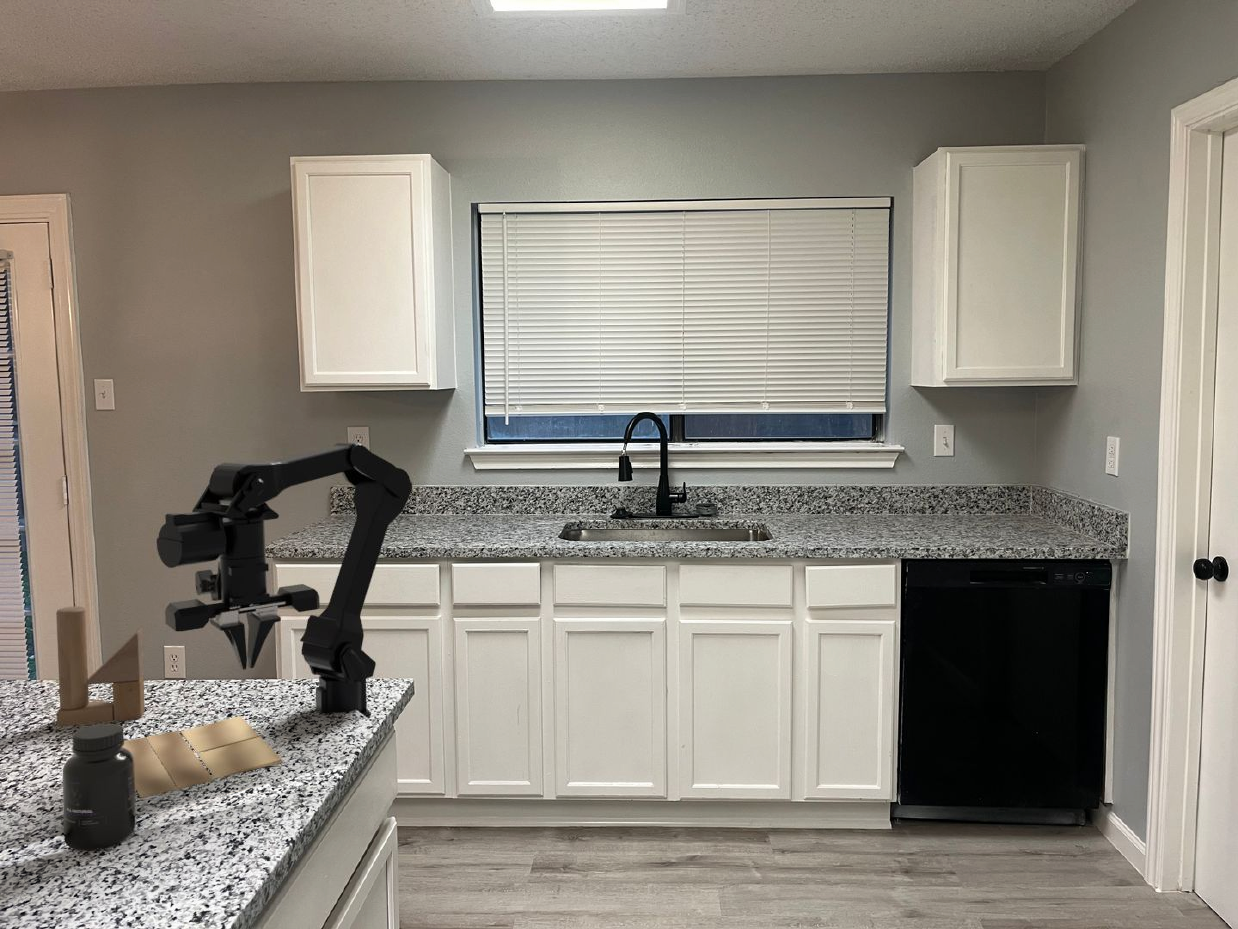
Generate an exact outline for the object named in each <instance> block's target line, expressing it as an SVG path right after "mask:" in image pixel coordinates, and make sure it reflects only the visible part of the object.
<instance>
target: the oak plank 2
mask: <svg viewBox="0 0 1238 929" xmlns="http://www.w3.org/2000/svg"><path fill="white" fill-rule="evenodd" d="M197 757H199V758H200V761H202V763H204V764H203V765H204V766H206V769H208V771H209V772H210V773H211V774H212V776H213V777H214V779H219V778H222V777H228V776H232V775H236V774H237V775H238V774H240V773H245V772H249V771H252V770H256V769H260V768H265V767H270V766H273V765H278V764H281V763H283V759H282V757H280V755H279V754H278V753H277V752H276V751H275V750H274V749H273V748H272V747H271V746H270V745H269V744H268V743H267V742H266V741H265V740H264V739H263V738H262V737H261V736H259V737H258V738H254V739H250V740H246V741H243V742H239V743H235V744H232V745H228V746H224V747H221V748H217V749H212V750H207V751H203V752H198V753H197Z"/></svg>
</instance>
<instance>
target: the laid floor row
mask: <svg viewBox="0 0 1238 929" xmlns="http://www.w3.org/2000/svg"><path fill="white" fill-rule="evenodd" d="M122 747H123V748H126V749H127V750H129V751H130V752H131V753H132V755H133V756H134V768H135V790H136V791H137V793H138V794H139V795H138V796H139V797H140V799H143V798H147V797H150V796H151V797H152V796H154V795H159V794H164V793H167V792H171V791H176V790H180V789H184V788H189V787H192V786H197V785H201V784H204V783H209V782H214V781H215V778H213V777H212V775H211V774H210V773H209V770H207V768H206V767H205V765H204V764H203V762H201V759H199V758H198V755H196V754H195V751H193V749H192V748H191V747H190V746H189V743H187V740H185V739H184V736H183V735H182V734H181V732H179V731H178V730H175V731H170V732H164V733H160V734H154V735H150V736H144V737H139V738H135V739H130V740H124V745H123V746H122Z"/></svg>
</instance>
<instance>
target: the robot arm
mask: <svg viewBox="0 0 1238 929" xmlns="http://www.w3.org/2000/svg"><path fill="white" fill-rule="evenodd" d="M336 474H341V475H342V476H343V478H344V479H345V481H346V482H348V483H349V485H351V486H352V487H353V488H354V494H353V498H352V499H353V504H354V509H355V514H356V515H355V516H356V519H355V522H354V525H353V529H352V531H351V535H350V538H349V540H348V544H347V547H346V550H345V553H344V556H343V559H342V562H341V565H340V569H339V572H338V575H337V577H336V580H335V583H334V587H333V590H332V593H331V595H330V596H331V597H330V599H329V602H328V604H327V607H326V608H325V609H324V610H323V611H322V613H320V614H319V616H318V615H315V614H311V615H309V617H308V618H307V621H306V625H305V626H306V627H305V631H304V633H303V634H302V637H301V638H300V640H299V641H300V642H302V646H301V655H302V657H303V659H304V661H305V663H307V665H308V666H309V669H310V672H311V674H312V675H314V676H316V675H317V676H318V685H319V686H316V688H315V710H317V711H318V712H319V713H321V714H322V715H323V714H332V713H333V714H334V713H335V714H336V713H337V714H338V713H349V712H353V711H354V712H355V711H357V712H359V713H360V714H361V715H363V716H364V717H366V718H368V717H371V716H372V711H370V710H368V707H367V706H368V705H367V704H368V702H367V679H369V678H371V677H373V676H374V673H375V670H376V666H377V663H376V661H375V660H374V659H373V658H372V657H370V656H369V655H368V654H367V653H365V651H364V650H363V649H362V647H363V642H364V636H365V635H364V630H363V629H364V628H363V623H362V618H361V615H362V610H363V607H364V604H365V601H366V597H367V596H368V595H367V594H368V591H369V588H370V585H371V583H372V578H373V576H374V572H375V569H376V566H377V563H378V559H379V556H380V553H381V550H382V547H383V543H384V540H385V537H386V534H387V531H388V529H389V528H388V527H389V526H390V524H391V523H393V522H394V520H395V519H396V518H398V516H400V514H401V513H402V512H403V511H404V509H405V507H406V505H407V502H408V500H409V499H410V496H411V493H412V490H413V482H412V481H411V478H410V476H409V474H408V472H407V471H406V470H405V469H403V468H401V467H397V466H395V465H394V464H393V463H391V462H389V461H388V460H386V459H385V458H382V457H381V456H379V455H377V454H375V453H373V452H372V451H371V450H369V449H368V447H366V446H364V445H363V444H362V443H359V442H337V443H336V444H333V445H331V446H328V447H323V448H319V449H315V450H310V451H306V452H302V453H299V454H295V455H291V456H287V457H283V458H279V459H273V460H267V461H263V460H262V461H260V460H259V461H232V462H222V463H221V464H218V465H217V466H215V467H214V468H213V471H212V473H211V475H210V477H209V483H208V484H207V486H206V488H205V490H204V492H202V494H201V495H200V497H199V499H198V500H197V502H196V504H195V505H194V507H193V509H192V512H183V513H179V512H171V513H166V514H165V516H164V517H165V518H164V519H165V523H164V524H163V525H161V527H160V529H159V532H158V536H157V538H156V550H157V553H158V556H159V559H160V560H161V562H162V564H164V565H165V566H166V567H167V568H170V569H175V568H178V567H179V568H180V567H185V566H192V565H197V564H203V563H208V562H213V561H217V560H218V559H219V561H218V562H217V564H218V565H217V573H216V574H215V573H213V570H212V569H204V570H198V571H196V572H195V573H194V574H195V575H194V576H195V583H194V584H195V591H196V592H195V593H196V595H197V596H202V595H210V597H211V598H210V599H211V601H212V602H217V601H221V602H217V603H209V604H205V603H204V602H203V601H201V600H199V599H198V598H196V599H195V598H194V599H188V600H187V599H186V600H181V601H174V602H170V603H169V604H168V605H167V606H166V607H165V610H164V611H165V612H164V615H165V624H166V625H167V626H168V627H169V628H171V629H172V630H173V631H175V632H180V633H181V632H188V631H192V630H193V631H194V630H200V629H204V628H205V627H206V625H207V624H208V623H209V624H210V625H212V626H214V628H216V629H217V630H219V631H221V632H223V633H224V634H225V636H226V638H227V640H228V641H229V644H230V646H231V648H232V651H233V652H234V655H235V657H236V660H237V662H238V665H239V667H240V669H241V670H243V671H245V670H246V669H247V665H248V668H249V669H254V668H255V665H256V663H257V661H258V658H259V655H260V653H261V650H262V648H263V645H264V643H265V642H266V639H267V638H268V636H269V634H270V632H271V630H272V628H273V626H274V624H275V623H279V622H281V620H282V616H280V615H278V608H285V607H292V608H293V609H294V610H295V611H296V612H298V613H302V612H309V611H315V610H319V609H320V608H321V606H320V595H319V592H318V590H316V589H314V587H311V586H309V585H306V584H304V583H300V584H293V585H286V586H279V587H278V589H277V594H271V595H270V593H269V592H268V586H267V585H268V584H267V583H268V582H267V572H269V571H270V570H269V565H270V564H269V563H268V562H267V559H266V533H265V529H266V528H265V526H266V525H265V521H271V520H277V519H279V517H280V515H279V513H278V512H277V511H275V510H273V509H272V508H271V507H270V506H269V505H268V503H267V502H269V501H272V500H273V499H275V498H277V497H278V496H280V495H281V494H282V492H284V491H285V490H287V489H289V488H290V487H294V486H298V485H301V484H306V483H308V482H313V481H315V480H319V479H322V478H327V477H329V476H334V475H336ZM242 614H246V619H247V620H246V621H247V626H248V634H247V637H248V638H247V641H246V629H245V628H246V626H245V622H242V621H240V615H242Z"/></svg>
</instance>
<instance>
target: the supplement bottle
mask: <svg viewBox="0 0 1238 929" xmlns="http://www.w3.org/2000/svg"><path fill="white" fill-rule="evenodd" d="M124 741H125V737H124V728H123V726H122V725H120V724H116V723H97V724H94V725H90V726H89V725H88V726H85V727H83V728H80V729H77V731H75V732H74V733H73V734H72V747H71V748H72V753H73V754H74V755H72V756H71V757H69V759H68V760H66V762H65V764H64V765H63V768H62V802H63V805H62V806H63V810H62V811H63V832H64V834H63V835H64V836H63V840H64V842H65V844H66V846H67V847H68V848H70V849H73V850H76V851H88V852H89V851H97V850H102V849H107V848H109V847H112V846H115V845H118V844H120V843H122V842H123V841H125V840H127V839H129V837H130V836H131V835H132V834H133V833H134V831H135V830H136V787H135V768H134V756H133V755H132V753H131V752H130V751H129V750H127V749H126V748H123V747H122V746H123V745H124Z"/></svg>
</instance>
